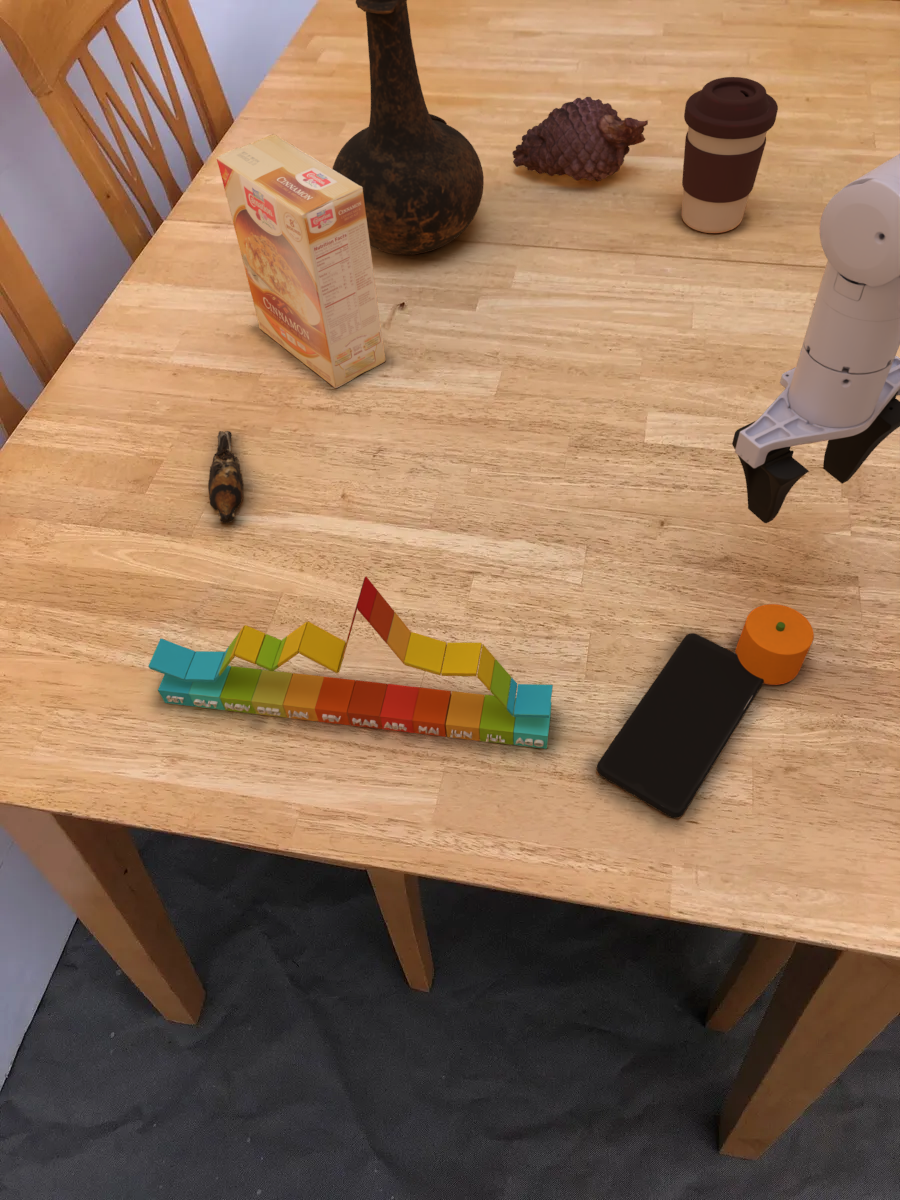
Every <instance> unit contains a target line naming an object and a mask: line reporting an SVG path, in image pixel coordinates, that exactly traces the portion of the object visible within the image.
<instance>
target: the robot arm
mask: <svg viewBox="0 0 900 1200" xmlns="http://www.w3.org/2000/svg"><path fill="white" fill-rule="evenodd" d="M819 240H820V245H821V248H822V252H823V253H824V256H825V258H826V259H827V261H826V264H825V268H824V270H823V274H822V277H821V280H820V284H819V287H818V290H817V292H816V297H815V300H814V304H813V307H812V311H811V314H810V317H809V321H808V324H807V328H806V330H805V333H804V338H803V341H802V345H801V348H800V352H799V355H798V358H797V362H796V365H795V367H793V368H791V369H788V370H786V371H784V372H783V373H782V374H781V375H780V380H779V384H780V385H781V387H783V388H785V389H784V390H783V391H782V392H781V393H780V394H779V395H778V396H777V397H776V399H774V401H772V403H771V404H769V406H768V407H767V408H766V409H765V410H764V412H763V413H762V414H761V415H759V417H758V418H757V419H756V420H755V421H752V422H750V423H748V424H746V425H743V426H742V427H740V428H738V429H736V430H735V432H734V435H733V439H732V442H731V445H732V447H733V449H734V453H735V454H736V455H737V457H738V459H739V461H740V464H741V467H742V471H743V474H744V478H745V484H746V485H745V486H746V495H747V497H746V498H747V509H748V510H749V511H750V512H751V513H752V514H753V515H754V516H756V517H757V519H759V520H760V521H761V522H762V523H763V524H768V523H770V522H772V521H774V519H775V518H776V517H777V516H778V514H779V513H780V510H781V509H782V506H783V504H784V502H785V500H786V497H787V496H788V494H789V493H790V492H791V489H792V488H793V487H794V486H795V484H796V483H797V482H798V481H799V480H800V479H801V478H803V477H804V476H805V475H806V474H808V473H809V472H810V470H809V469H808V468H806V467H805V466H803V465H802V464H801V462H798V461H797V460H796V459H795V458H794V457H793V455H794V450H791V447H797V446H802V445H807V444H808V445H809V444H813V443H814V444H815V443H820V442H825V441H827V444H826V448H825V452H824V455H823V464H822V469H823V470H824V471H825V472H826V473H828V474H829V475H830V476H832V477H833V478H834V479H835V480H836V481H838V482H839V483H840V484H844V483H846V482H848V481H849V480H851V478H852V477H854V475H855V474H856V472H857V471H858V470H859V469H860V467H861V466H862V465H863V464H864V462H865V461H866V460H867V458H869V457H870V456H871V454H872V453H873V452H874V450H875V449H876V448H877V447H878V446H879V445H880V444H881V443H882V442H883V441H884V440H885V439H886V438H887V437H888V436H890V435H891V434H892V433H893V432H895V431H896V430H897V429H898V428H900V400H899V399H897V396H900V357H899V356H897V353H898V350H899V348H900V153H898V154H896V155H894V156H893V157H891V158H889V159H887V160H886V161H884V162H882V163H881V164H879V165H878V166H876V167H875V168H872V169H871V170H869V171H868V172H866V173H864V174H863V175H861V176H859V177H858V178H856V179H855V180H853V181H851V182H849V183H847V184H846V185H844V186H843V187H842V188H841V189H840V190H838V191H837V192H836V193H835V194H834V195H833V196H832V197H831V198H830V199H829V200H828V202H827V203H826V205H825V207H824V209H823V211H822V214H821V217H820V222H819Z"/></svg>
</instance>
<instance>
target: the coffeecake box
mask: <svg viewBox="0 0 900 1200" xmlns="http://www.w3.org/2000/svg"><path fill="white" fill-rule="evenodd" d="M215 158H216V162H217V165H218V169H219V173H220V177H221V181H222V184H223V189H224V192H225V197H226V200H227V205H228V208H229V212H230V216H231V220H232V223H233V224H232V225H233V228H234V232H235V236H236V240H237V244H238V247H239V251H240V254H241V259H242V264H243V267H244V270H245V271H244V272H245V274H246V280H247V282H248V286H249V290H250V294H251V298H252V302H253V306H254V310H255V313H256V318H257V322H258V328H259V329H260V330H261V331H262V332H263V333H264V334H266V335H267V336H268V337H270V338H271V339H272V340H274V341H275V342H276V343H277V344H278V345H280V346H281V347H282V348H283V349H285V350H286V351H288V352H289V353H290V354H291V355H292V356H294V357H295V358H296V359H297V360H299V361H300V362H302V364H304V365H305V366H306V367H308V368H309V369H310V370H311V371H313V372H314V373H315V374H317V375H318V376H319V377H320V378H322V379H323V380H324V381H326V382H327V383H328V384H329V385H331V386H332V387H333V388H334V389H338V388H339V387H342V386H343V385H345V384H347V383H348V382H350V381H352V380H354V379H355V378H358V376H360V375H362V374H364V373H366V372H368V371H370V370H373V369H374V368H376V367H378V366H379V365H381V364H384V363H385V362H386V354H385V347H384V340H383V332H382V325H381V316H380V310H379V309H380V308H379V302H378V301H379V300H378V295H377V287H376V279H375V272H374V264H373V257H372V249H371V246H370V241H369V234H368V226H367V219H366V212H365V204H364V196H363V188H362V187H361V186H359V185H358V184H356V183H354V182H353V181H351V180H349V179H348V178H346V177H345V176H343V175H341V174H340V173H338V172H336V171H335V170H333V168H332V167H330V166H329V165H326V164H325V163H323V162H322V161H320V160H318V159H317V158H315V157H313V156H312V155H310V154H309V153H306V152H305V151H303V150H302V149H300V148H298V147H297V146H295V145H293V144H292V143H290V142H288V141H287V140H285V139H283V138H282V137H280V136H279V135H276V134H275V133H272V134H270V135H268V136H265V137H262V138H260V139H258V140H255V141H253V142H251V143H248V144H246V145H243V146H240V147H235V148H233V149H231V150H228V151H226V152H224V153H222V154H219V155H218V156H217V157H215Z"/></svg>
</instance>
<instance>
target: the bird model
mask: <svg viewBox="0 0 900 1200" xmlns="http://www.w3.org/2000/svg"><path fill="white" fill-rule="evenodd" d="M217 434H218V435H217V448H216V452H215V453H214V455H213V458H212V462H211V465H210V466H209V475H208V477H209V478H208V483H207V485H208V486H207V487H208V489H207V490H208V496H209V498H208V499H209V505H210V507H211V508H212V509H213V510H215V511H218V519H219V521H220V523H224V524H228V523H231V522H233V521H234V520H235V514H236V512H235V511H236V509H238V508H239V507H240V506H241V504H242V501H243V497H244V494H243V493H244V492H243V491H244V490H243V489H244V480H243V475H242V473H241V465H240V460H239V459H238V457H237V456H235V454H234V453H233V452H232V436H233V434H232V432H231V431H229V430H225V431H222V430H219V431H218V433H217Z"/></svg>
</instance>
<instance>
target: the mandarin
mask: <svg viewBox="0 0 900 1200" xmlns="http://www.w3.org/2000/svg"><path fill="white" fill-rule="evenodd" d="M739 635H740V636H739V639H738V641H737V644H736V647H735V651H734V653H736V654H737V656H738V658H739V661H740V662H741V664H742V665H743V667H744V668H745V669H746V670H747V671H749V672H750V673H751V674H753V675H755V676H757V677H759V678H762V679H763V680H764V683H763V684H765V685H770V686H771V685H772V686H777V685H778V686H779V685H784V684H786V683H789V682H791V681H793V680H794V679H795V678H796V677H797V676H798V675H799V672H800V671H801V668H802V666H803V664H804V662H805V660H806V657H807V655H808V653H809V651H810V649H811V646H812V644H813V641H814V637H815V635H814V629H813V625H812V624H811V623H810V621H809V620H808V619H807V618H806V616H804V615H803V614H802V613H801V612H799V611H797V610H796V609H795V608H792V607H789V606H787V605H783V604H778V603H777V604H776V603H771V604H770V603H769V604H763V605H759V606H757V607H755V608H754V609H752V610H751V611H750V612H749V613H748V615H747V617H746V619H745V622H744V624H743V627H742V630H741V634H739Z"/></svg>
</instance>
